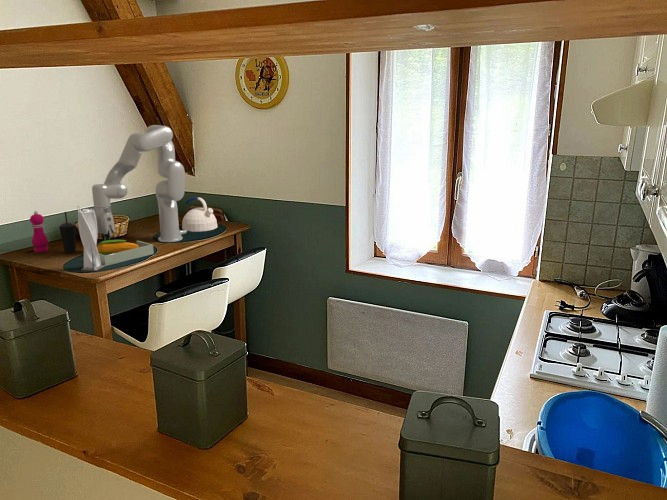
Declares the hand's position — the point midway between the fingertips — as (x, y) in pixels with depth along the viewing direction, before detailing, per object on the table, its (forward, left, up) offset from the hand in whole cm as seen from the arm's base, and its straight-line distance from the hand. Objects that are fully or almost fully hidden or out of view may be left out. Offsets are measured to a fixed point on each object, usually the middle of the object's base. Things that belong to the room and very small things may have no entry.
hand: (106, 246), depth 274 cm
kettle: (-62, -6, -3) cm, 63 cm away
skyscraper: (+18, +18, -3) cm, 26 cm away
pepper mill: (+19, -28, -3) cm, 34 cm away
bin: (0, +14, -3) cm, 14 cm away
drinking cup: (+11, -15, -3) cm, 19 cm away
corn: (-1, +8, -3) cm, 9 cm away
